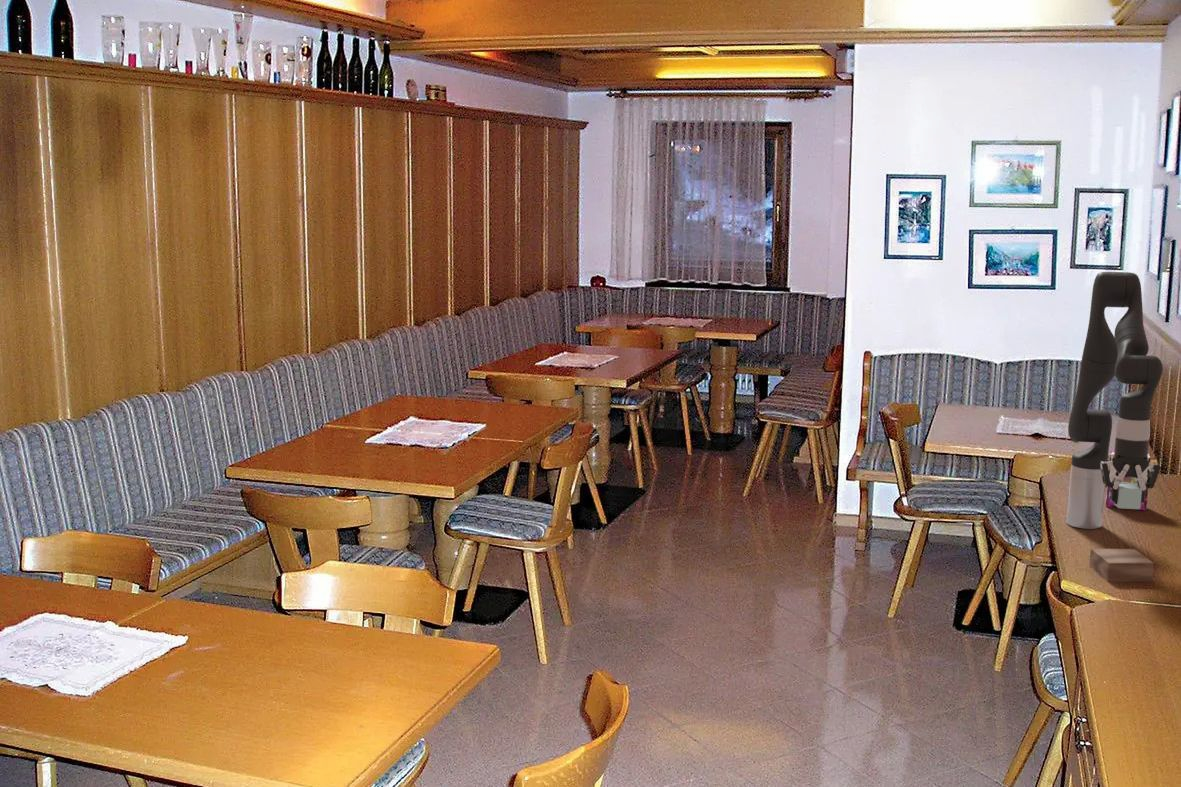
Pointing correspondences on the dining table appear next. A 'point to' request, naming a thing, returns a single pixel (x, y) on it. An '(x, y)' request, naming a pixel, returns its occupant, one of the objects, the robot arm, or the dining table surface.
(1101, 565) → the walnut block
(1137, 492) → the teal cube
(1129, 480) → the candy bar box
